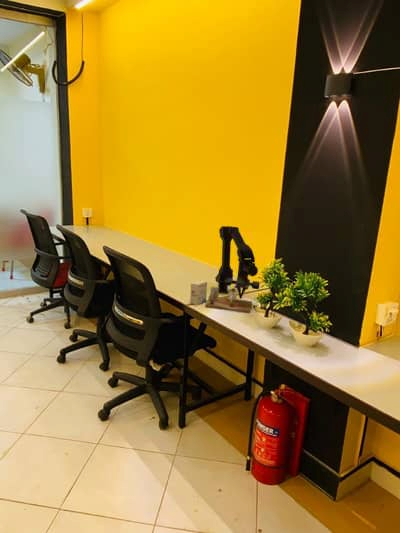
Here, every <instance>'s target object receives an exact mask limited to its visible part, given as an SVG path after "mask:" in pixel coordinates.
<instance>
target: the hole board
mask: <svg viewBox="0 0 400 533" xmlns="http://www.w3.org/2000/svg"><path fill="white" fill-rule="evenodd" d="M230 301H231V300H229V297H223V296H221V297H220V296H218V298H213V303H211V298H210V295H208V299H207V300H206V302H205V303H204V304H205V305H204V308H208V309H217V310H222V311H223V310H224V311H228V312H236V313H245V314H250V313H251V310H252V306H253V301H251V300H243V299H239V298H237V299H236V301H235V300H232V305H230Z"/></svg>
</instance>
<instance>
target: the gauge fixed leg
mask: <svg viewBox="0 0 400 533" xmlns="http://www.w3.org/2000/svg"><path fill="white" fill-rule="evenodd" d="M209 296H210V298H211V303H213V298H218V297H219V288H218V287H216V286H211V287H210V293H209Z"/></svg>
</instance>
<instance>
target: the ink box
mask: <svg viewBox="0 0 400 533" xmlns="http://www.w3.org/2000/svg"><path fill="white" fill-rule="evenodd" d="M207 291H208V281H205V280H203V279H201V280H197V281H194V282H193V281H192V282H191V283H190V296H189V297H190V298H189V304H192V305H194V306H199V305H201V304H205V303H207V293H208V292H207Z"/></svg>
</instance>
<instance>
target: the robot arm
mask: <svg viewBox="0 0 400 533" xmlns="http://www.w3.org/2000/svg"><path fill="white" fill-rule="evenodd" d="M218 233H219V237H220V239H221V241H222V243H221V248H222V249H221V266H220V267H219V269H218V273H217V274H216V276H215V277H214V278H215V281H216V283H217V286H218V287H217V288H219V293H220V294H229V286H232V285H234V289H236V290H237V294H238V297H239V299H242V298H243V296H244V293H245V291H246V290H249V288H250V287H251V289H254V290H259V289H260V286H261V285H260V282H259V281H257V280H256V281H255V280H252V282H251V279H249V276H250V277H255V276H256V275H258V273H259V268H258V266H256V258H255V255H254V251H253V249H252V248H251V247H250V245H248V244H246V241H245V240H244V238H243V236H242V234H241V232H240V229H239V227H238V226H232V225H226V226H225V225H222V226H220V228H219V229H218ZM232 240H233V242H234V245H235V246H236V248H237V249H236V255H237V257H238V259H237V261H238V266H237V268H238V269H237V276H236V280H234V278H233V277H234V269H233V268H232V267H231V250H232V249H231V245H232V244H231V243H232Z"/></svg>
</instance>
